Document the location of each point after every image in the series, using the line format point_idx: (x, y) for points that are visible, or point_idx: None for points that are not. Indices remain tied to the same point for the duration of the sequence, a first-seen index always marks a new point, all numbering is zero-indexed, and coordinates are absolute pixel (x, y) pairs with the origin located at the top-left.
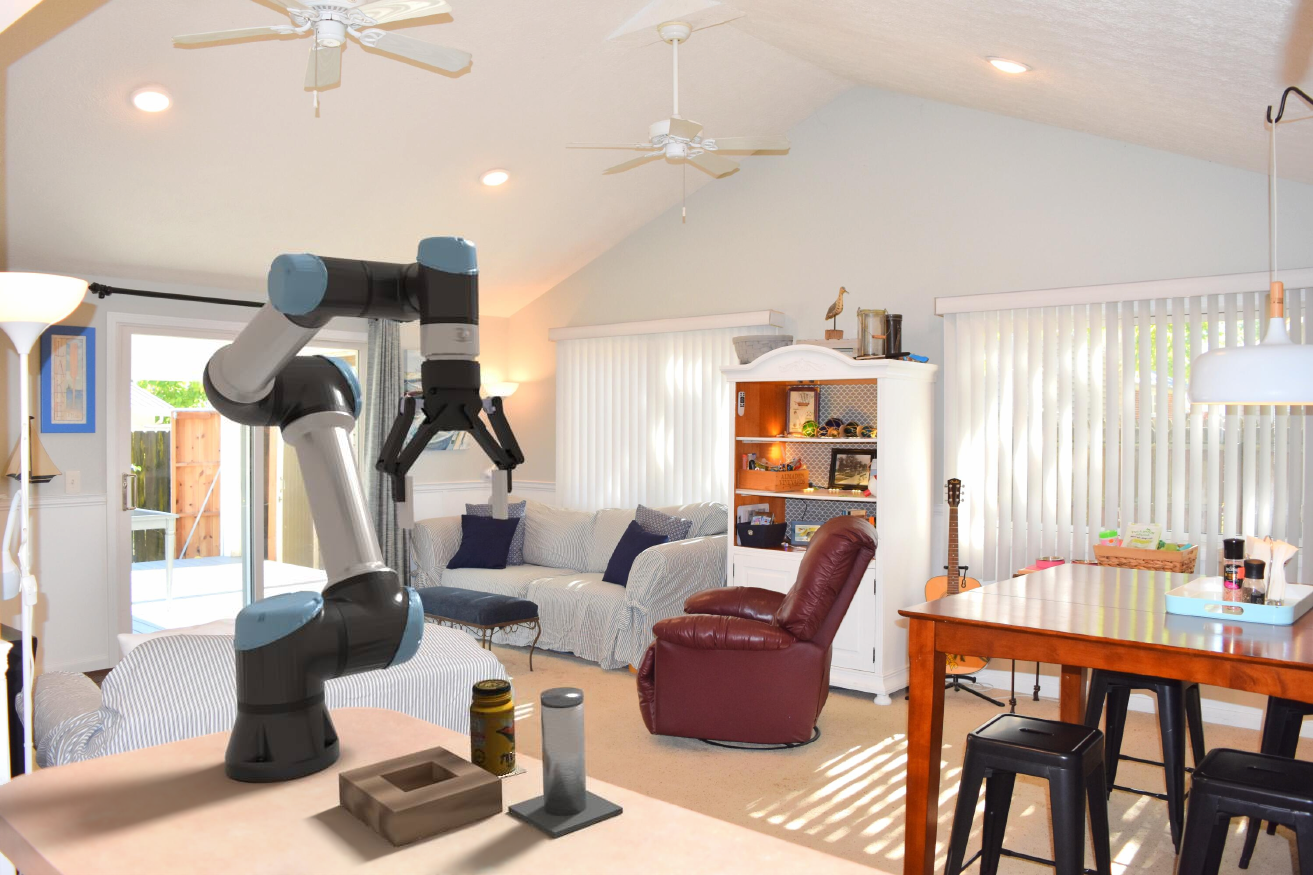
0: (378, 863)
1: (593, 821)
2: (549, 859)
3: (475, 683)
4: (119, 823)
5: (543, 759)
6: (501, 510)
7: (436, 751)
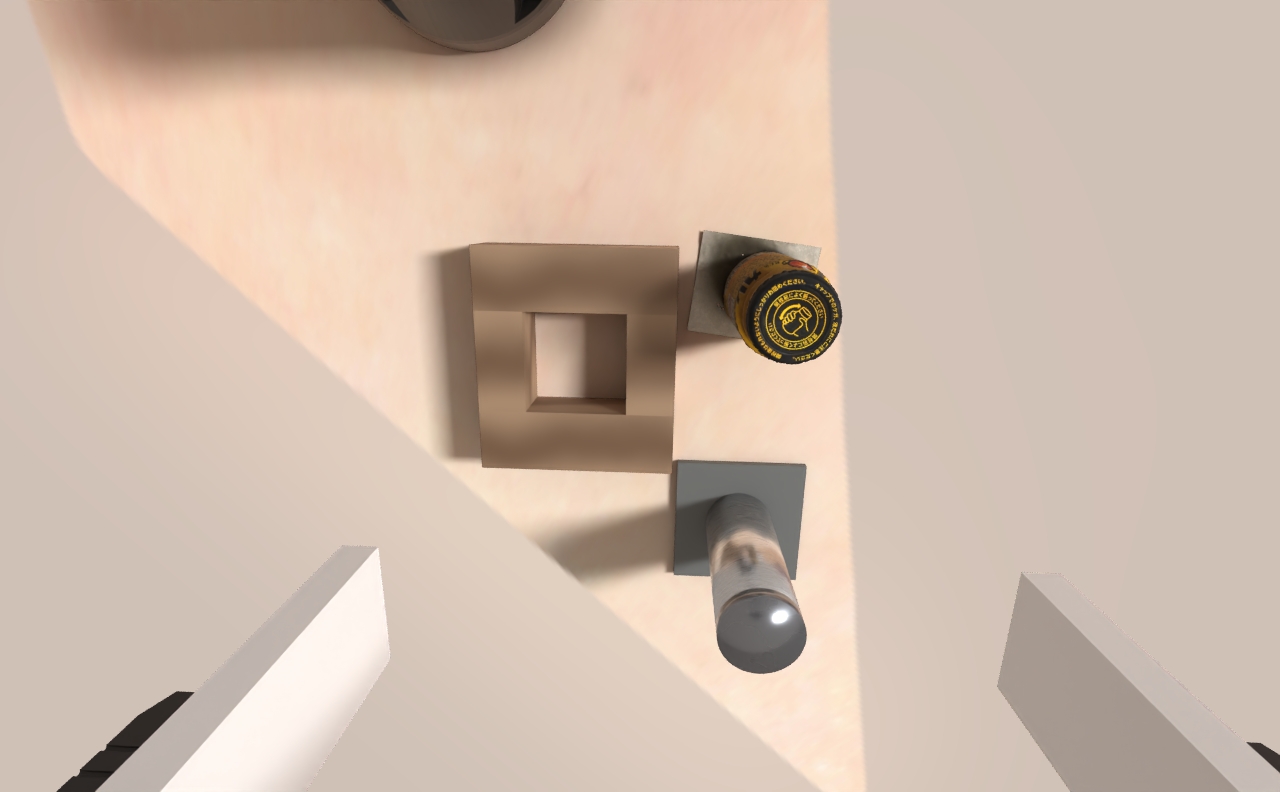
0: (460, 473)
1: None
2: (632, 609)
3: (770, 286)
4: (158, 35)
5: (711, 555)
6: (1030, 715)
7: (658, 273)
